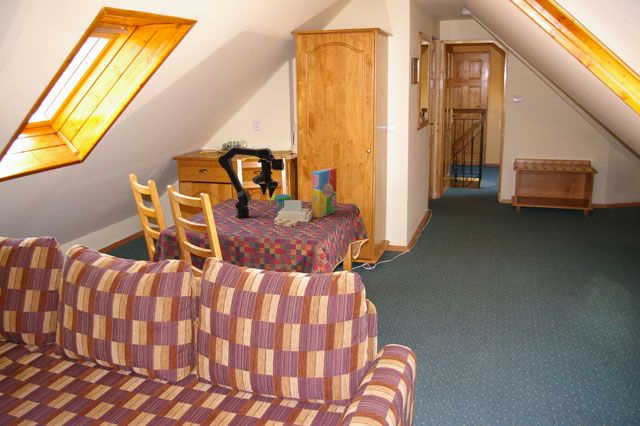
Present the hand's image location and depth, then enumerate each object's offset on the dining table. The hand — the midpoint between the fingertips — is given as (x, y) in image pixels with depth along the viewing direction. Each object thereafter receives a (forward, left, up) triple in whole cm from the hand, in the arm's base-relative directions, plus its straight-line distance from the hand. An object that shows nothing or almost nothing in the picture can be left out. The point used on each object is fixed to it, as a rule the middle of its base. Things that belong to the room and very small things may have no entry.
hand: (267, 196), depth 337 cm
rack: (+12, -10, -13) cm, 20 cm away
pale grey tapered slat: (+12, -10, -7) cm, 17 cm away
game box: (+33, -10, -13) cm, 37 cm away
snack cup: (+15, +10, -13) cm, 22 cm away
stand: (+2, -20, -13) cm, 24 cm away
